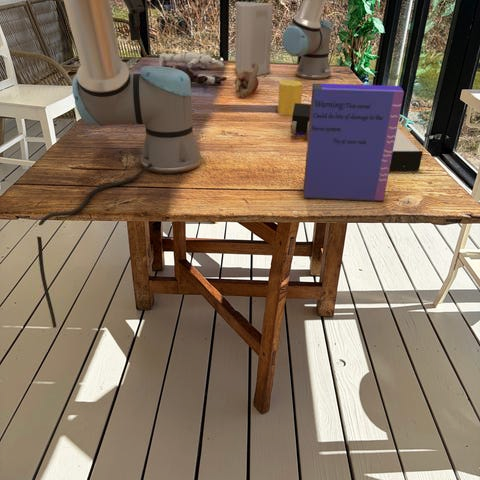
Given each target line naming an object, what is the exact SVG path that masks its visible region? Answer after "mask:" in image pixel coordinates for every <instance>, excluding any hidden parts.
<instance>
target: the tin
mask: <svg viewBox="0 0 480 480" xmlns="http://www.w3.org/2000/svg"><path fill="white" fill-rule="evenodd" d="M303 86H304V83H303V82H302V81H299V80H293V79H292V80H291V79H287V80H286V79H285V80H281V81H279V83H278V96H277V97H278V98H277V99H278V100H277V113H278V114H279V115H283V116H293V110H294V105H295V103H300V104H302V98H303V96H302V95H303Z"/></svg>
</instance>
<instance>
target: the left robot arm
mask: <svg viewBox="0 0 480 480" xmlns="http://www.w3.org/2000/svg"><path fill="white" fill-rule="evenodd" d="M122 1H123V2H124V4H125V6H126V7H127V9H128V15H127V18H128V28H129V36H130V38H129V39H130V41H131V42H134V41H141V31H140V27H141V21H140V13H142V12H145V6H144V3H143V0H122ZM63 3H64V8H65V11H66V15H67V18H68V22H69V26H70V29H71V33H72V37H73V41H74V45H75V49H76V53H77V56H78V60H79V64H80V66H79V67H78V69H77V71H76V74H75V75H74V76H73V78H72V83H71V84H72V95H73V98H74V104H75V108H76V110H77V113H78V116H80V119H81V120H82V121H83V122H84V123H85V124H88V125H90V126H100V127H102V126H103V127H105V126H122V125H125V126H126V125H144V127H145V138H144V142H143V146H142V150H141V154H140V162H141V166H142V169H141V170H140V171H138V173H136V174H135V175H134V176H132V177H130V178H128V179H125V180H121V181H117V182H113V183H109V184H105V185H100V186H98V187H96V188H94V189H92V190H91V191H90V192H88V194H87V195H86V196H85V197H84V199H83V201H82V203H81V204H80V205H79V206H78V207H76V208H75V209H73V210H69V211H68V210H67V211H57V212H52V213H48V214H46V215H45V216H43V218H41V219H40V221H39V223H38V224H37V226H42V225H44V223H45V222H46V221H47V220H49V219H51V218H54V217H61V216H62V217H63V216H64V217H65V216H70V215H74V214H77V213H78V212H80V211H81V210H83V209H84V207H86V205H87V203H88V201H89V200H90V198H91V197H92V196H93V195H94V194H95V193H97V192H99V191H102V190H106V189H108V188H109V189H110V188H113V187H118V186H122V185H125V184H128V183H130V182H133V181H135V180H137V179H138V178H139V177H140V176H141V175H142V174H143V173H145V172H146V171H149V172H151V173H156V174H163V175H164V174H165V175H169V174H170V175H172V174H173V175H175V174H182V173H187V172H190V171H193V170H195V169H197V168H198V167H199V166H201V163H202V155H201V151H200V149H199V146H198V143H197V141H196V137H195V135H194V130H193V129H194V126H193V107H192V96H193V92H192V83H190V78H189V76H188V75H187V74H186V73H185V72H183V71H181V70H178V69H174V68H173V67H168V66H159V65H145V66H142V67H141V68H140V70H139V73H130V69H129V66H128V65H127V64H126V63H125V62H124V61H123V60H121V55H120V50H119V45H118V38H117V33H116V28H115V24H114V23H115V22H114V17H113V11H112V6H111V5H112V4H111V0H63ZM36 240H37V251H38V265H39V271H40V277H41V282H42V287H43V291H44V295H45V299H46V302H47V307H48V310H49V314H50V319H51V323H52V328H54V329H55V328H57V320H56V316H55V312H54V308H53V304H52V299H51V295H50V293H49V289H48V284H47V279H46V274H45V268H44V267H45V266H44V257H43V256H44V255H43V241H42V236H36Z"/></svg>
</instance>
